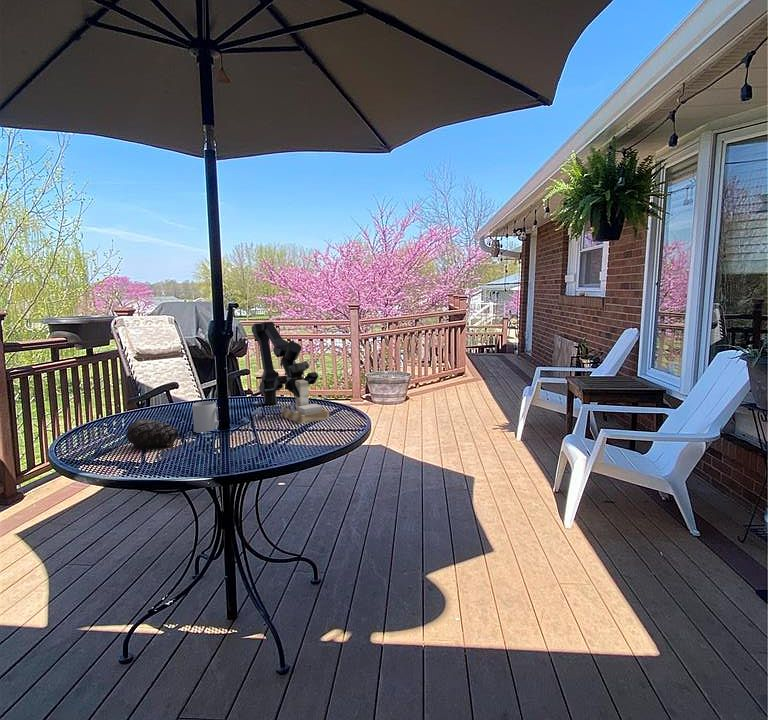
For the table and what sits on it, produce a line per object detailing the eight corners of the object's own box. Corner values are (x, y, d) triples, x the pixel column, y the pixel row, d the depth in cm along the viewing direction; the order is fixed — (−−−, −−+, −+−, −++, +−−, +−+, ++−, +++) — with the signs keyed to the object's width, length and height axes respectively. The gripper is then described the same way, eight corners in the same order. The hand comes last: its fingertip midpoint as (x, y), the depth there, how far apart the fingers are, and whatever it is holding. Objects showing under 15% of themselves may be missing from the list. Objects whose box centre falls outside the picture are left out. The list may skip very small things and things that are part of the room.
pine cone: (176, 449, 163) (174, 421, 161) (122, 452, 162) (119, 423, 160) (186, 440, 173) (184, 413, 172) (136, 442, 172) (133, 415, 170)
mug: (190, 434, 180) (187, 406, 179) (200, 428, 189) (198, 401, 187) (221, 434, 179) (219, 406, 178) (229, 428, 188) (228, 401, 186)
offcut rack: (279, 416, 204) (279, 407, 204) (308, 411, 213) (308, 402, 212) (300, 426, 188) (300, 416, 188) (331, 420, 197) (331, 410, 196)
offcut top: (298, 412, 196) (297, 406, 196) (315, 409, 201) (315, 403, 200) (304, 415, 191) (304, 409, 191) (322, 412, 196) (322, 406, 196)
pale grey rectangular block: (296, 410, 203) (294, 380, 201) (303, 409, 205) (302, 379, 203) (301, 413, 199) (300, 382, 197) (308, 411, 201) (307, 381, 199)
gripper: (275, 357, 196) (288, 387, 189) (315, 353, 207) (329, 382, 200) (268, 374, 204) (280, 403, 196) (307, 369, 214) (320, 397, 207)
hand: (303, 396), depth 200 cm, fingers closed on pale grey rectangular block, 3 cm apart
